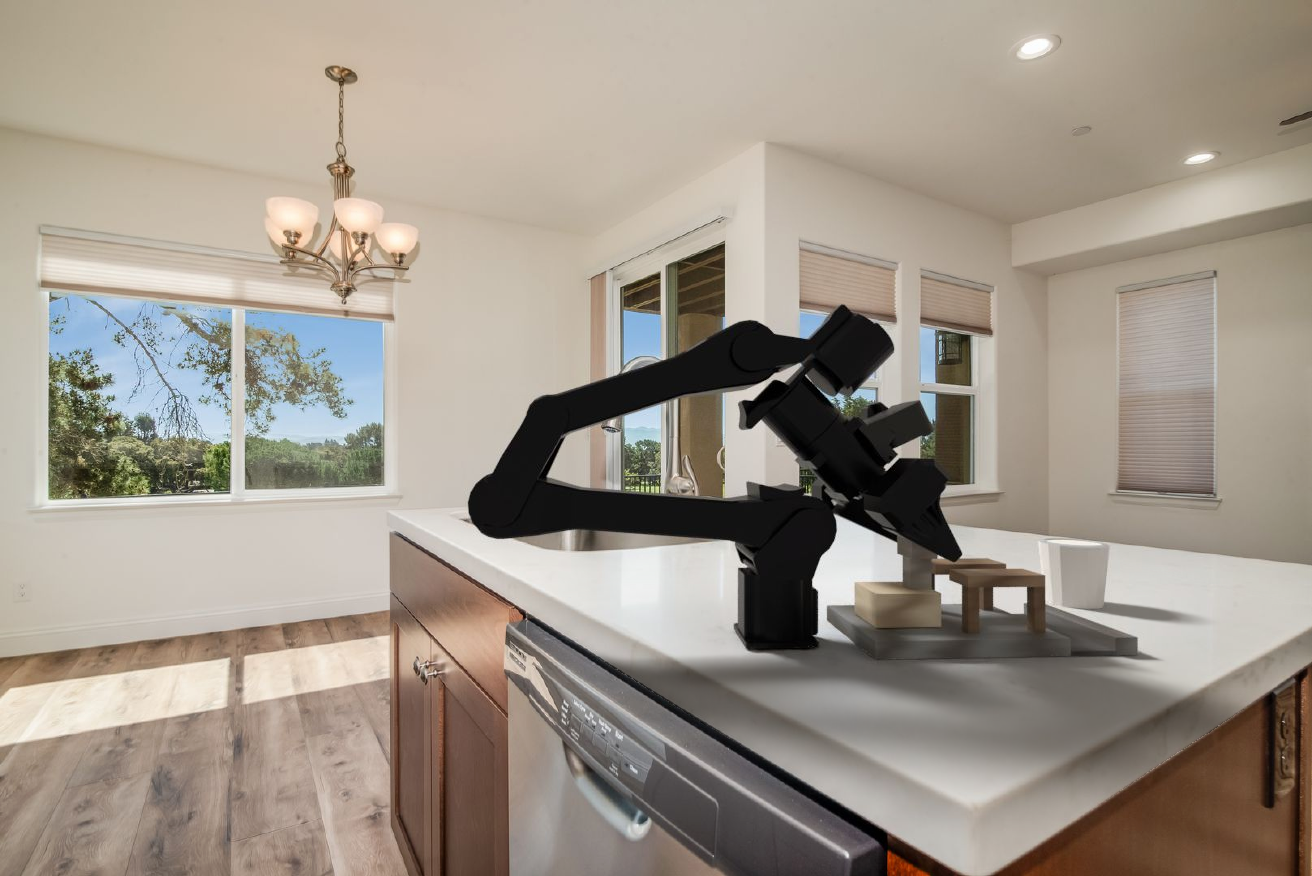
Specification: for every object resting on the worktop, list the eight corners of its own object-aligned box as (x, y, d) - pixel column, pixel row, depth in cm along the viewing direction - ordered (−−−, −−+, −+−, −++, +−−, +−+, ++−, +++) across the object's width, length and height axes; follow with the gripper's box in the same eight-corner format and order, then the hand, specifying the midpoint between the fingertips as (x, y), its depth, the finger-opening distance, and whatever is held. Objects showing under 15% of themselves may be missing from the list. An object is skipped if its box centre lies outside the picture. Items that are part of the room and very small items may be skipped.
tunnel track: (875, 659, 52) (875, 581, 52) (826, 620, 64) (826, 556, 64) (1137, 655, 54) (1137, 578, 54) (1042, 617, 66) (1041, 555, 66)
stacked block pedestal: (876, 627, 56) (875, 493, 56) (854, 613, 61) (854, 490, 61) (943, 627, 56) (943, 493, 56) (916, 612, 61) (916, 490, 61)
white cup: (1027, 600, 73) (1027, 540, 73) (1054, 593, 77) (1053, 536, 77) (1095, 613, 67) (1094, 548, 67) (1120, 604, 71) (1119, 543, 71)
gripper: (924, 356, 49) (1059, 496, 50) (839, 381, 68) (938, 483, 68) (826, 455, 49) (964, 596, 49) (768, 454, 67) (868, 556, 68)
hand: (931, 549), depth 59 cm, fingers open, 9 cm apart
